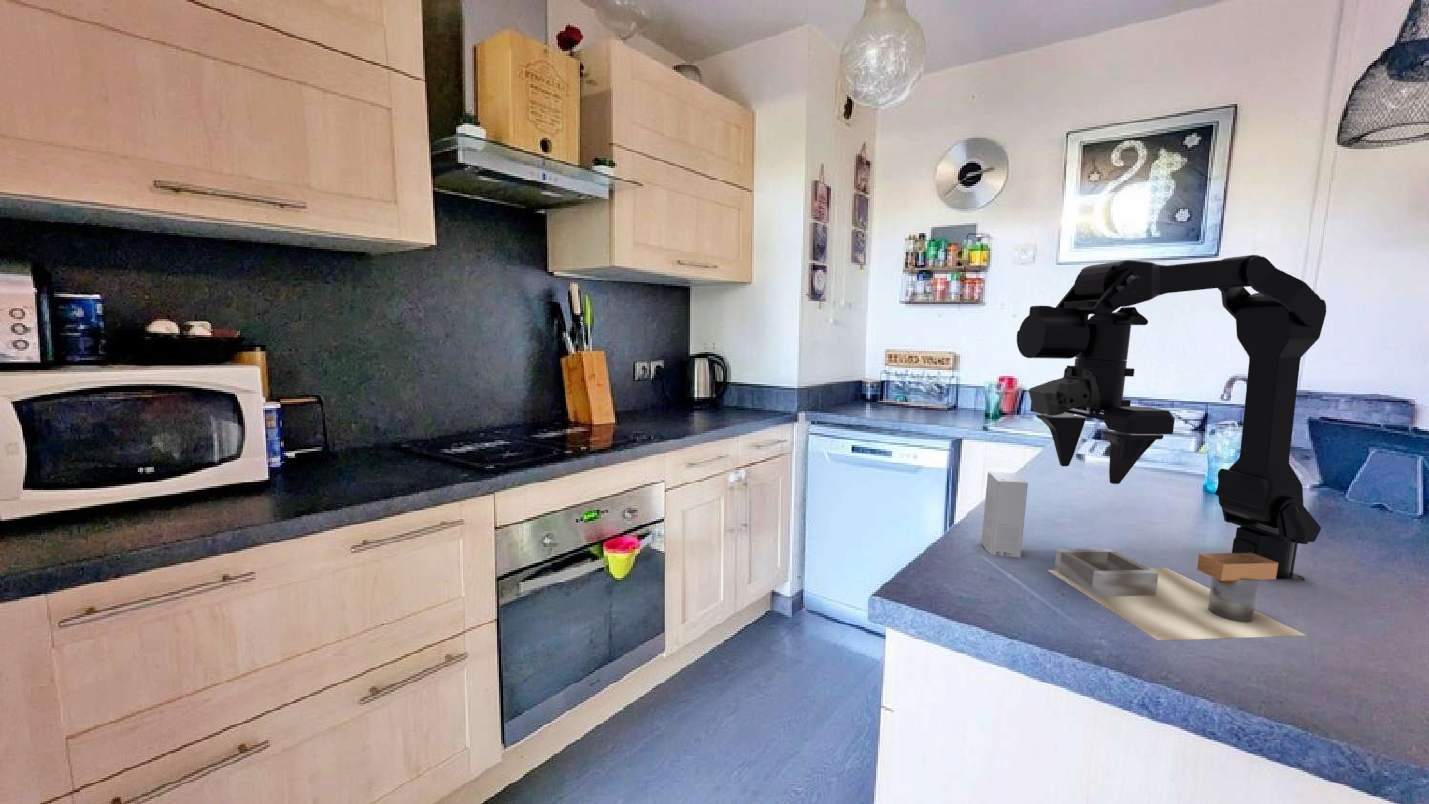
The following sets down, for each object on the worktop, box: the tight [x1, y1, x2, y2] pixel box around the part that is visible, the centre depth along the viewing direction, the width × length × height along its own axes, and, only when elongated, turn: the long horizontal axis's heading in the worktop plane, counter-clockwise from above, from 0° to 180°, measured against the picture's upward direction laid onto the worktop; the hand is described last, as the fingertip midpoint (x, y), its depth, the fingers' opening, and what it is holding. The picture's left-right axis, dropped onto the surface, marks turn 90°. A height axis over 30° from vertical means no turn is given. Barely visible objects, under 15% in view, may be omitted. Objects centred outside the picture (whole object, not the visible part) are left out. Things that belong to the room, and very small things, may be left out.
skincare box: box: [981, 471, 1029, 558], centre depth 87 cm, size 6×4×12 cm
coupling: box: [1196, 552, 1278, 623], centre depth 68 cm, size 7×4×7 cm, turn 95°
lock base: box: [1047, 548, 1307, 642], centre depth 71 cm, size 18×18×4 cm
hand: (1088, 474), depth 77 cm, fingers open, 9 cm apart
